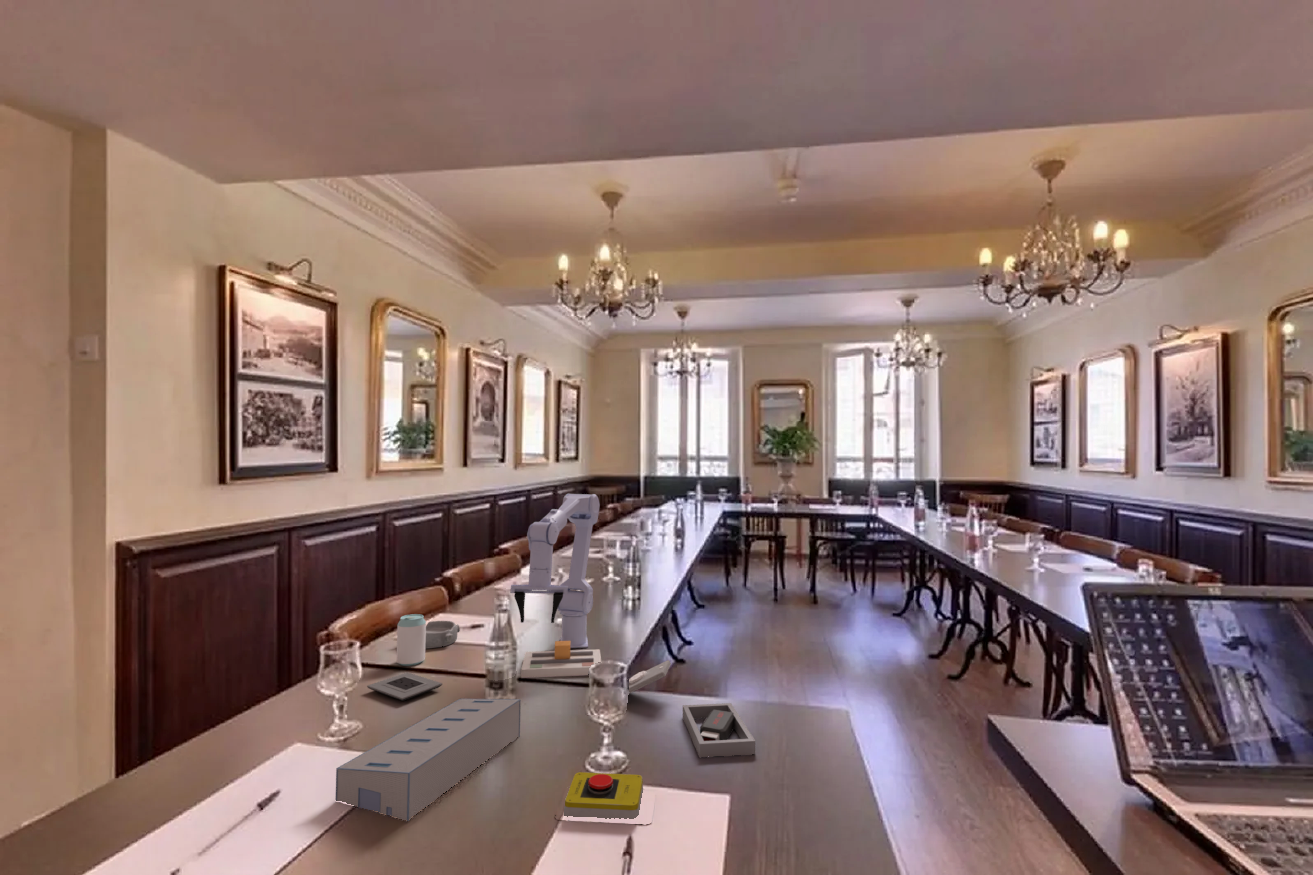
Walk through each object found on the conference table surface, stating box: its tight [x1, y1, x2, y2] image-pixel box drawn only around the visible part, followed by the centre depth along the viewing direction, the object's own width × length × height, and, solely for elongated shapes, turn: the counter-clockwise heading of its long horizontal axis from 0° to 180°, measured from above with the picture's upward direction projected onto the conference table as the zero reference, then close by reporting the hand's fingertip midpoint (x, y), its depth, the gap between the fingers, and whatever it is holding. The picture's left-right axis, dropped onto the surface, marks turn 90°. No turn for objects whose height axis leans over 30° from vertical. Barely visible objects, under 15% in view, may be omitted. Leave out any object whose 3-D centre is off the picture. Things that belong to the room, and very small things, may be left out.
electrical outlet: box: [366, 671, 443, 702], centre depth 140 cm, size 13×10×2 cm
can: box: [396, 613, 427, 667], centre depth 161 cm, size 7×7×12 cm
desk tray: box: [682, 702, 756, 759], centre depth 120 cm, size 18×10×2 cm, turn 8°
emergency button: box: [564, 771, 644, 819], centre depth 95 cm, size 9×4×15 cm
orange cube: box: [554, 640, 571, 659], centre depth 158 cm, size 4×4×4 cm
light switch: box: [628, 659, 672, 694], centre depth 138 cm, size 8×6×14 cm
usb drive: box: [699, 710, 735, 741], centre depth 120 cm, size 5×12×3 cm, turn 159°
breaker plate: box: [520, 648, 602, 679], centre depth 158 cm, size 14×20×3 cm
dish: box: [425, 620, 461, 649], centre depth 178 cm, size 14×14×5 cm
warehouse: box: [334, 698, 521, 822], centre depth 107 cm, size 30×14×8 cm, turn 160°
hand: (537, 622), depth 156 cm, fingers open, 7 cm apart
